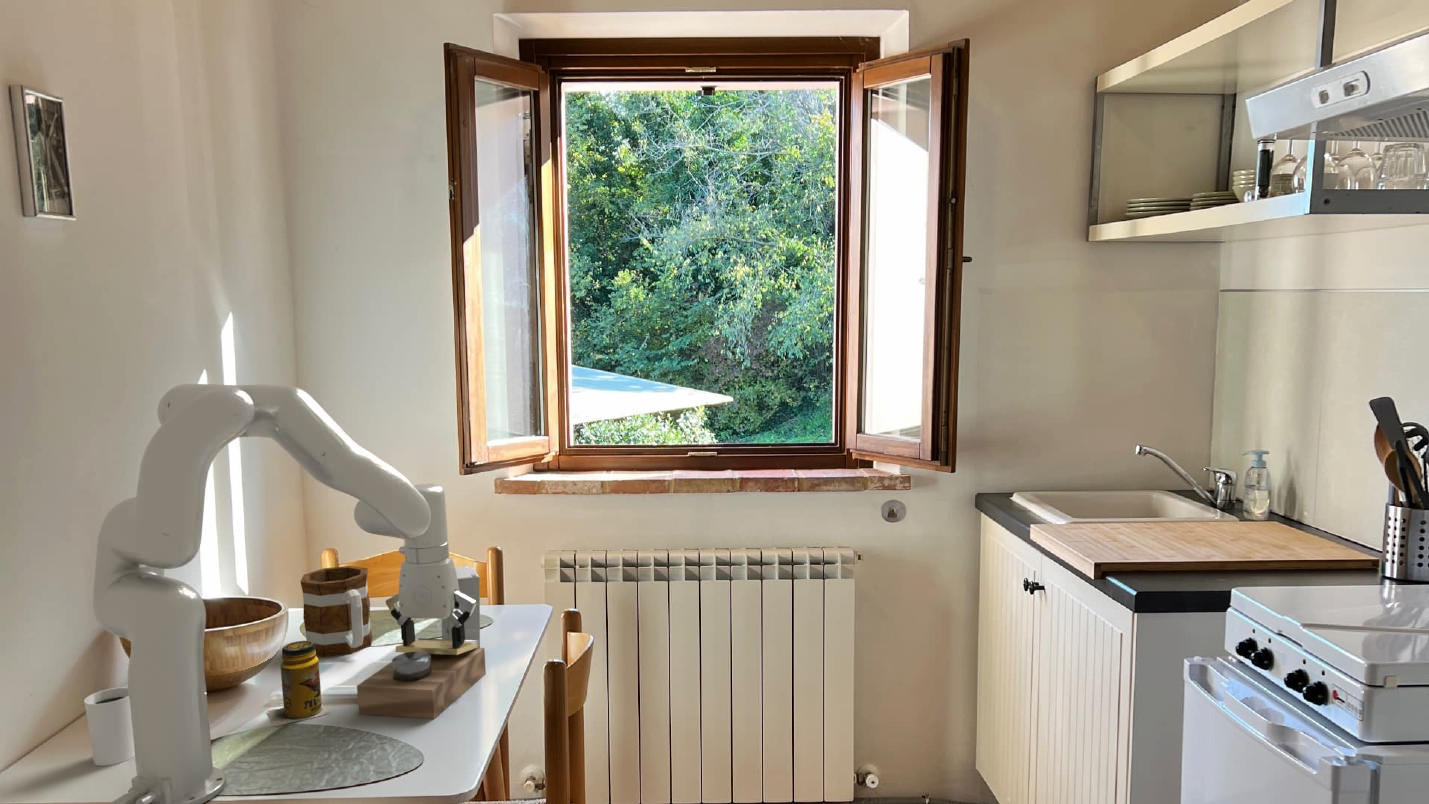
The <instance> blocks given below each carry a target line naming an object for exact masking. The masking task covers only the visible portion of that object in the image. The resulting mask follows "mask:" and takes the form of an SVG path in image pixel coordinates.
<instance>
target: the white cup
mask: <svg viewBox="0 0 1429 804" xmlns="http://www.w3.org/2000/svg"><path fill="white" fill-rule="evenodd" d="M83 701H84V709H85V714H86V718H87V719H86V720H87V726H88V727H87V728H88V732H89V738H90V745H91V751H92V758H93V764H94V765H96V766H97V767H98V766H100V767H101V766H103V767H107V766H114V765H117V764H121V763H124V762H126V761H128V760H131V759H132V758H135V751H134V740H133V730H132V720H131V709H130V699H129V693H128V687H122V686H121V687H112V688H107V689H103V690H100V691H97V692H94V693H92V694H90V695H88V696H87V697H86V698H85V699H84V700H83Z"/></svg>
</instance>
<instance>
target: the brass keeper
mask: <svg viewBox="0 0 1429 804" xmlns="http://www.w3.org/2000/svg"><path fill="white" fill-rule="evenodd" d="M479 644H480V645H481V641H480V642H479V641H477V640H465V641H464V643H463V644H462V645H461V646H460V647H458V648H453V646H452V639H442V638H429V637H428V638H423V637H420V638H418V639H415V642H413V643H412V644H410V645H409V646H403V643H402V644H400V645H399V644H398V645H395V653H408V652H418V651H419V652H427V653H429V654H448V655H458V654H461V653H464V652H466V651H469V650H472V649H474V648H477V647H479Z"/></svg>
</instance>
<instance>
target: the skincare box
mask: <svg viewBox="0 0 1429 804" xmlns="http://www.w3.org/2000/svg"><path fill="white" fill-rule="evenodd" d="M455 570H456V574H457V579H458V585H459V592H461V593H463V594H464V595H466V596H468V597H470V598H472V599H473V600H475V601H476V602H477V604H476V606H475V608H474V611H473V614H472V615H471V616H470V617H469V619H468V620H467V621H466V622H465V623H464V628H465V640H477V641H479V642H480V644H479V647H477V648H481V636H480V635H481V633H480V632H481V631H480V630H481V626H480V625H481V617H480V615H481V613H480V612H481V609H480V608H481V607H480V606H481V603H480V602H481V598H480V595H481V594H480V593H481V592H480V591H481V586H480V584H481V580H480V576H479V574H478V573H477V572H478V571H477V570H476V569H475V568H474V567H473V566H472V565H466V566H459V567H458V566H457V567H456V566H455ZM465 608H466V607H465V605H463V604H461V603H460V608H459V610H460V611H461V612H462V613H464V611H465ZM452 627H454V625H453V624H452V622H451V621H450V620H449V619H448V618H443V619H441V639H452V632H451V629H452Z"/></svg>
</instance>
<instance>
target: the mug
mask: <svg viewBox="0 0 1429 804" xmlns="http://www.w3.org/2000/svg"><path fill="white" fill-rule="evenodd" d="M368 572H369V569H368V568H367V567H364V566H363V567H361V566H355V565H344V566H335V567H326V568H325V567H324V568H321V569H317V570H315V571H311V572H308V573H305V574H303V575H302V577H301V579H300V581H299V582H300V586H301V591H302V598H303V625H304V628H305V638H306V640H305V641H311V642H313V643H314V644H315V651H316V655H315V656H316V657H319V658H331V657H339V656H347V655H352V653H353V654H354V652H355V653H358V652H360V651H362V650H364V649H367V648H370V647H372V644H373V643H372V642H373V639H372V638H373V637H374V636H373V633H372V632H373V631H372V628H371V616H370V615H371V602H370V595H369V587H368Z"/></svg>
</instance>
